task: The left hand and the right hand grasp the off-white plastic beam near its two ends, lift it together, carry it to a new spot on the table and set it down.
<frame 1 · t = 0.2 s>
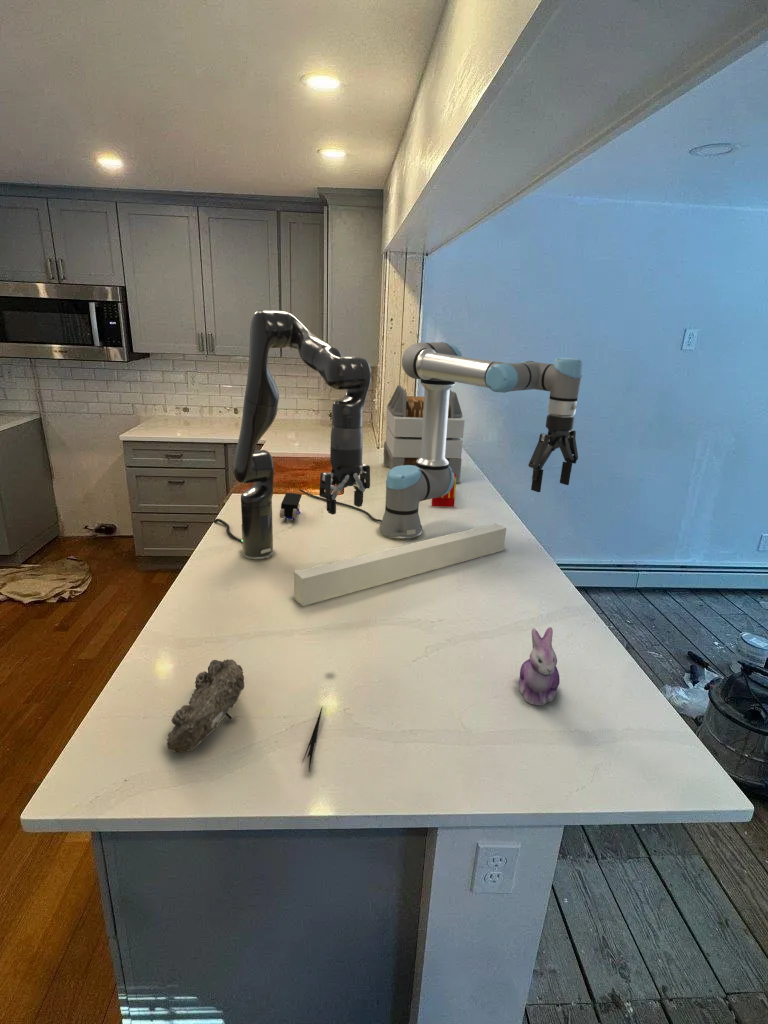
left hand: (345, 509, 138), 28 cm above the counter, tool pointing down, fingers open, 8 cm apart
right hand: (550, 487, 166), 27 cm above the counter, tool pointing down, fingers open, 13 cm apart
grey wooden crate: (419, 473, 275), on the counter
beam: (410, 571, 171), on the counter
feather: (319, 719, 109), on the counter
figurine character: (291, 517, 210), on the counter
fossil: (212, 717, 108), on the counter
toy: (438, 496, 242), on the counter
figurine: (538, 693, 119), on the counter
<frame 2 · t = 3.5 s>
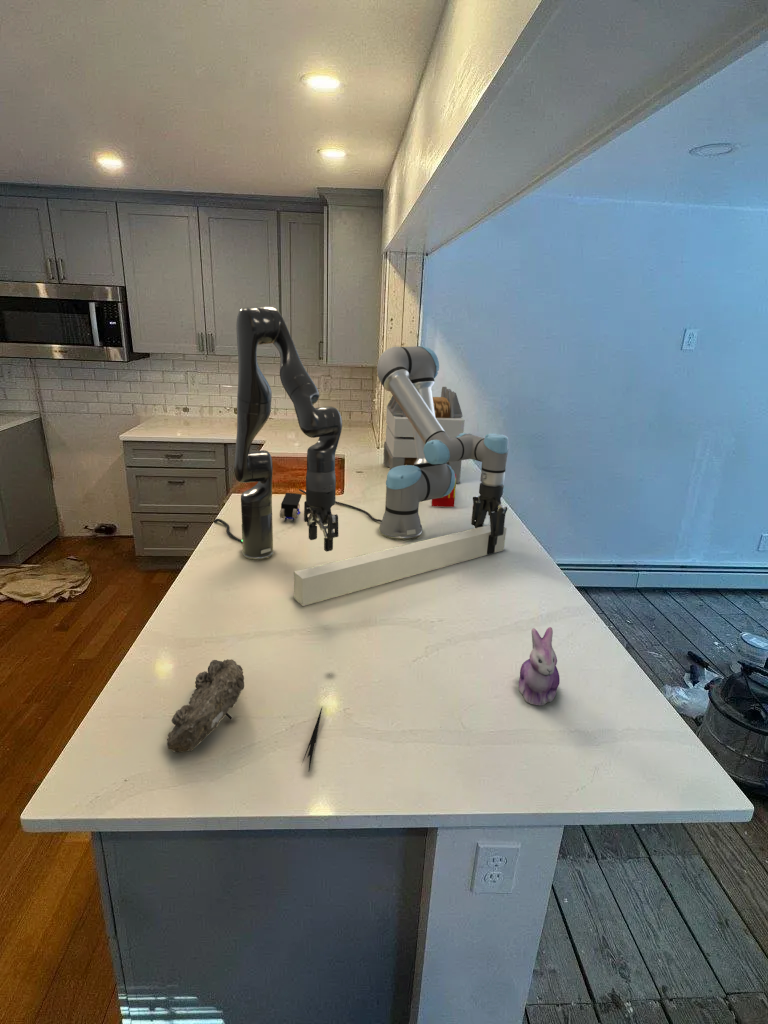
left hand: (320, 544, 149), 15 cm above the counter, tool pointing down, fingers open, 8 cm apart
right hand: (484, 550, 188), 1 cm above the counter, tool pointing down, fingers closed on beam, 5 cm apart
beam: (410, 571, 171), on the counter, touching right hand
everything else where it was.
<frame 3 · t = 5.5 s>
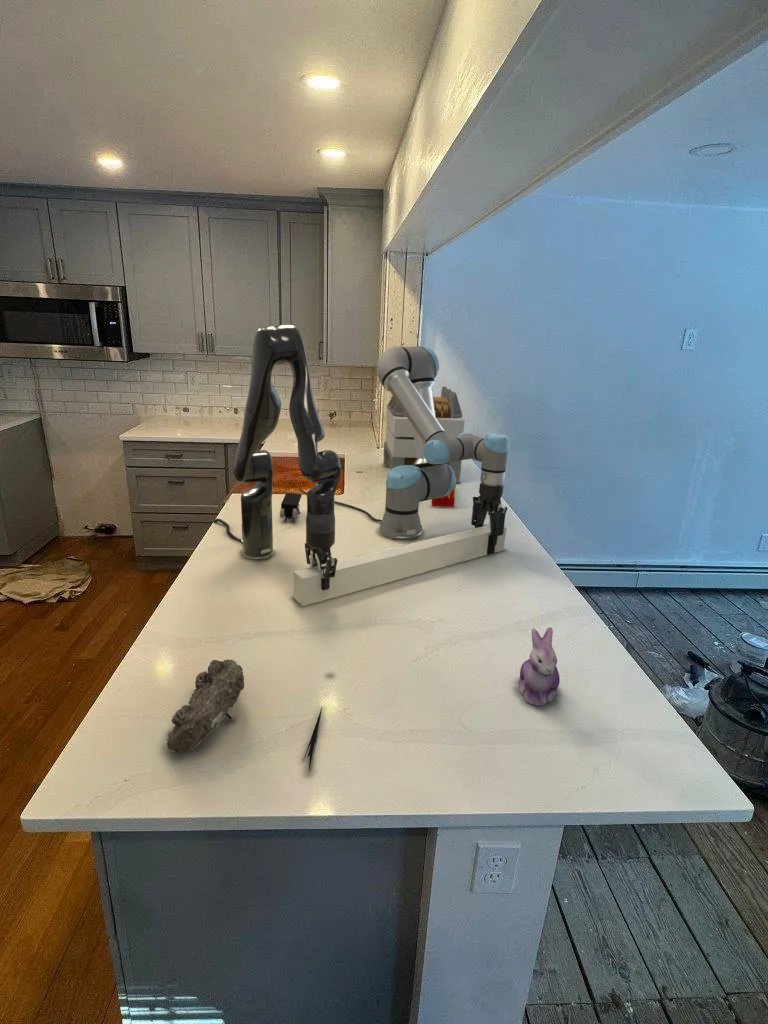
left hand: (320, 584, 153), 4 cm above the counter, tool pointing down, fingers closed on beam, 5 cm apart
right hand: (484, 550, 188), 1 cm above the counter, tool pointing down, fingers closed on beam, 5 cm apart
beam: (410, 571, 171), on the counter, touching right hand, left hand
everything else where it was.
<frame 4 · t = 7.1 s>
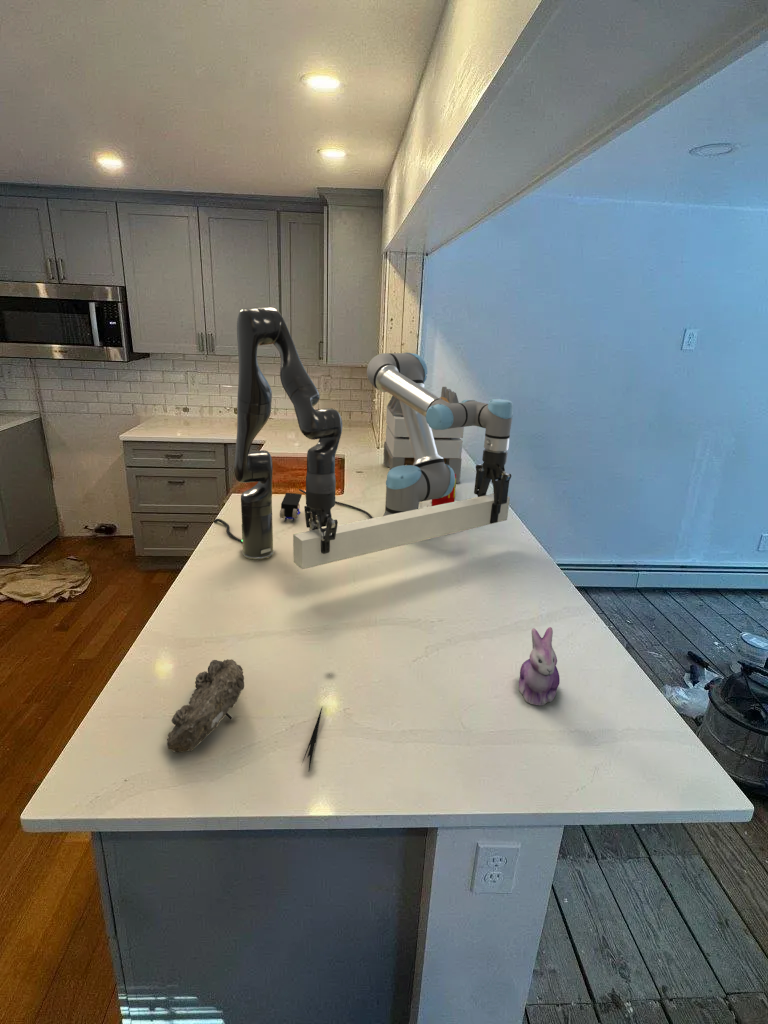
left hand: (320, 548, 150), 14 cm above the counter, tool pointing down, fingers closed on beam, 5 cm apart
right hand: (487, 519, 185), 11 cm above the counter, tool pointing down, fingers closed on beam, 5 cm apart
beam: (412, 538, 168), point 11 cm above the counter, touching right hand, left hand
everything else where it was.
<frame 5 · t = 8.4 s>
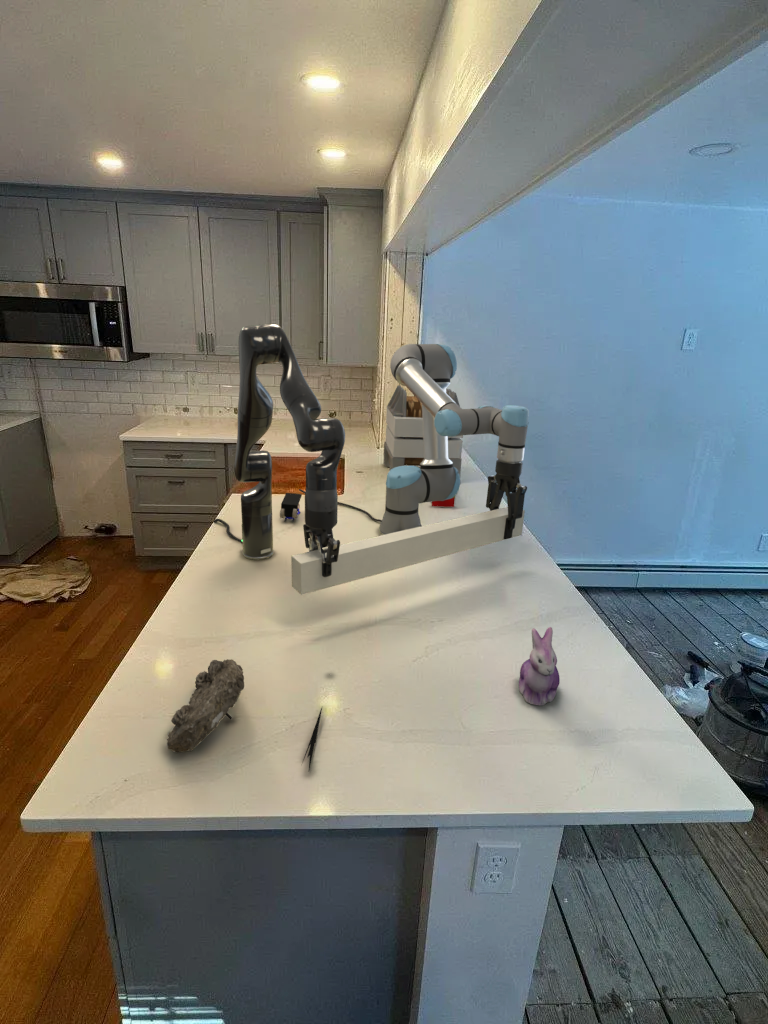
left hand: (320, 571, 136), 15 cm above the counter, tool pointing down, fingers closed on beam, 5 cm apart
right hand: (500, 534, 171), 12 cm above the counter, tool pointing down, fingers closed on beam, 5 cm apart
beam: (420, 557, 155), point 11 cm above the counter, touching right hand, left hand
everything else where it was.
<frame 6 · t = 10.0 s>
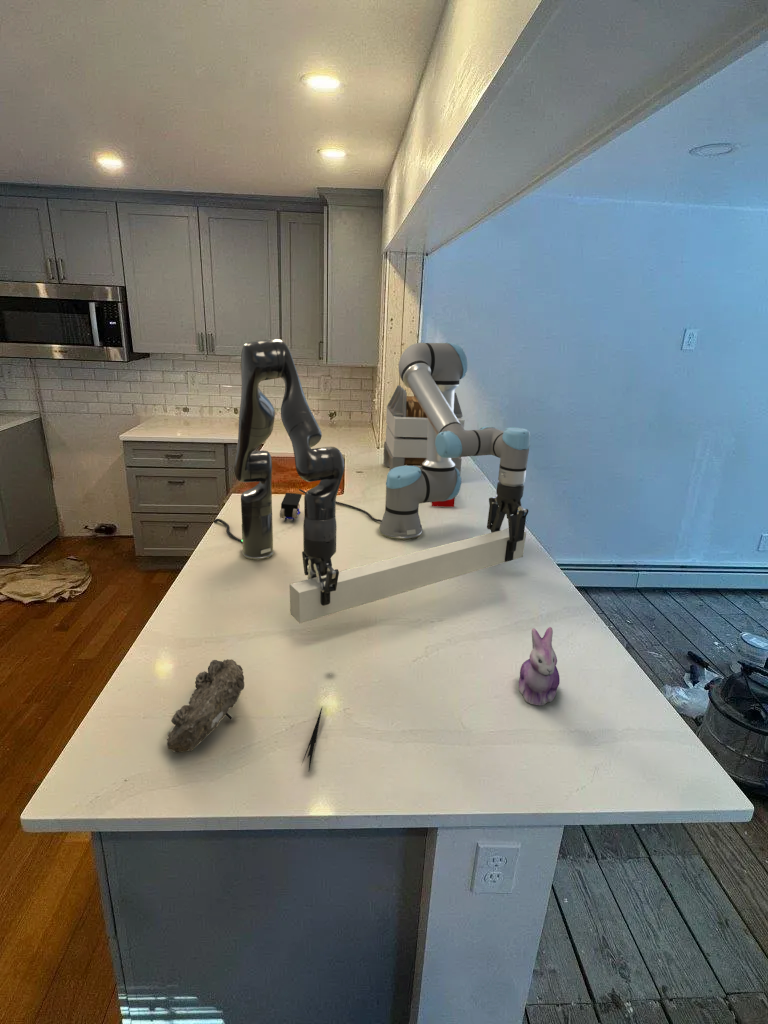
left hand: (319, 598, 135), 9 cm above the counter, tool pointing down, fingers closed on beam, 5 cm apart
right hand: (501, 556, 170), 6 cm above the counter, tool pointing down, fingers closed on beam, 5 cm apart
beam: (420, 582, 153), point 5 cm above the counter, touching right hand, left hand
everything else where it was.
when the right hand's fingers open (1 cm above the counter, at t = 11.1 s): beam stays where it is, on the counter.
when the left hand's fingers open (4 cm above the counter, at t = 11.3 s): beam stays where it is, on the counter.
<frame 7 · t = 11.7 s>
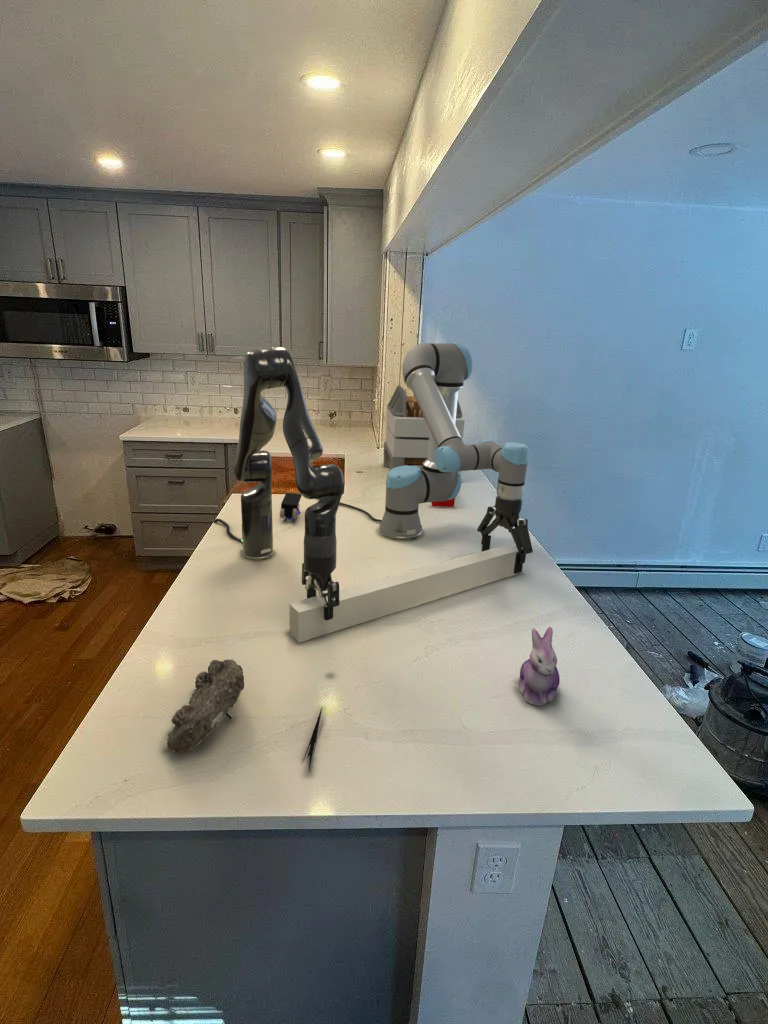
left hand: (319, 611, 136), 5 cm above the counter, tool pointing down, fingers open, 8 cm apart
right hand: (500, 563, 171), 4 cm above the counter, tool pointing down, fingers open, 13 cm apart
beam: (418, 599, 155), on the counter
everything else where it was.
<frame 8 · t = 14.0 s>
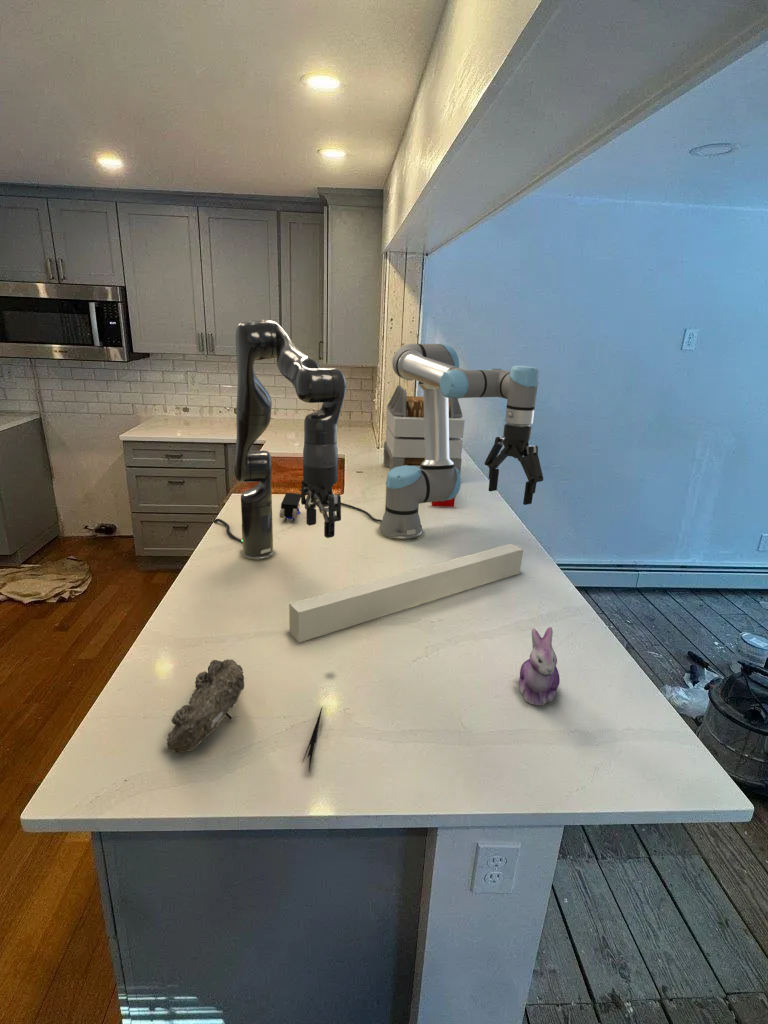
left hand: (320, 530, 129), 26 cm above the counter, tool pointing down, fingers open, 8 cm apart
right hand: (509, 497, 163), 25 cm above the counter, tool pointing down, fingers open, 13 cm apart
nothing on the counter moved.
at the end: beam inside the target area (0.4 cm from its centre), on the counter; beam tilted 0°; beam never tilted more than 2° during the clip; both hands held the beam at the same time; the left hand is holding nothing; the right hand is holding nothing; beam at rest at the end (0.0 cm/s) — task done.
